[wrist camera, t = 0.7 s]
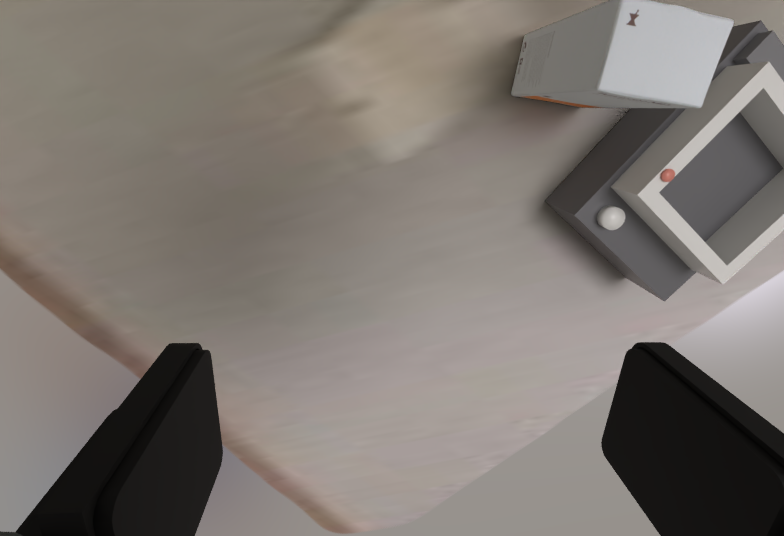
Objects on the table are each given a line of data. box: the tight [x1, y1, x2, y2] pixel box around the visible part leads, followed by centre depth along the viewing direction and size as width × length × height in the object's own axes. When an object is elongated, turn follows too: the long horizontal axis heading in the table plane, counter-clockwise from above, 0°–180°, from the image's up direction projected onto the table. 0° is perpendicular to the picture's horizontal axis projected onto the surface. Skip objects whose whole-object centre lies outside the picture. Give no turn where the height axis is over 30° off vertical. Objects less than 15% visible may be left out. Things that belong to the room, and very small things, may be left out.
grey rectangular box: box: [545, 21, 784, 301], centre depth 31 cm, size 16×11×8 cm
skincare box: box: [511, 0, 734, 108], centre depth 26 cm, size 6×4×12 cm
